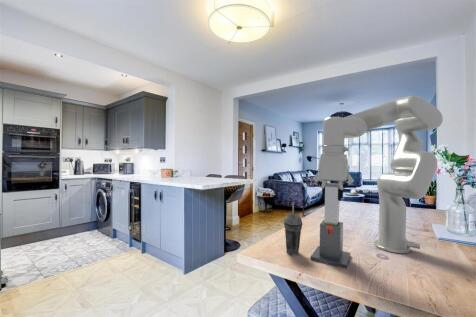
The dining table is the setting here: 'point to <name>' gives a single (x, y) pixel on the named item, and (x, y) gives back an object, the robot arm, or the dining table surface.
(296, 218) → the beverage cup
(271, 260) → the dining table surface
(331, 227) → the stand
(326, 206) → the column
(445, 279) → the dining table surface
